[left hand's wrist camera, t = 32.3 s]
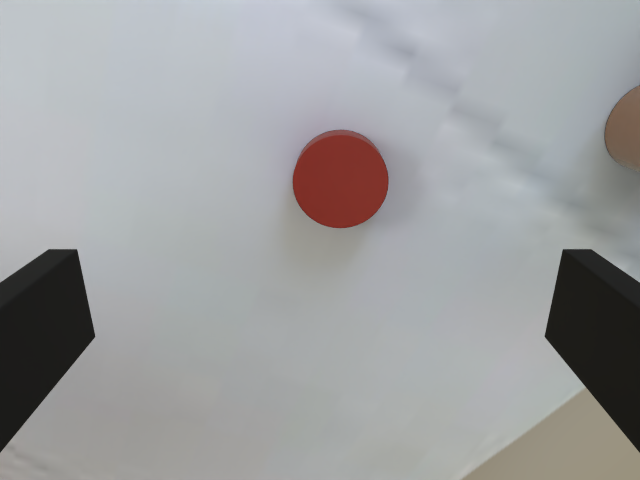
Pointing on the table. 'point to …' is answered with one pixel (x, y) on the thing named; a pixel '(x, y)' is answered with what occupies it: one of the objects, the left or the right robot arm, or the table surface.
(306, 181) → the lid
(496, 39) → the table surface
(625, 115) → the jar
